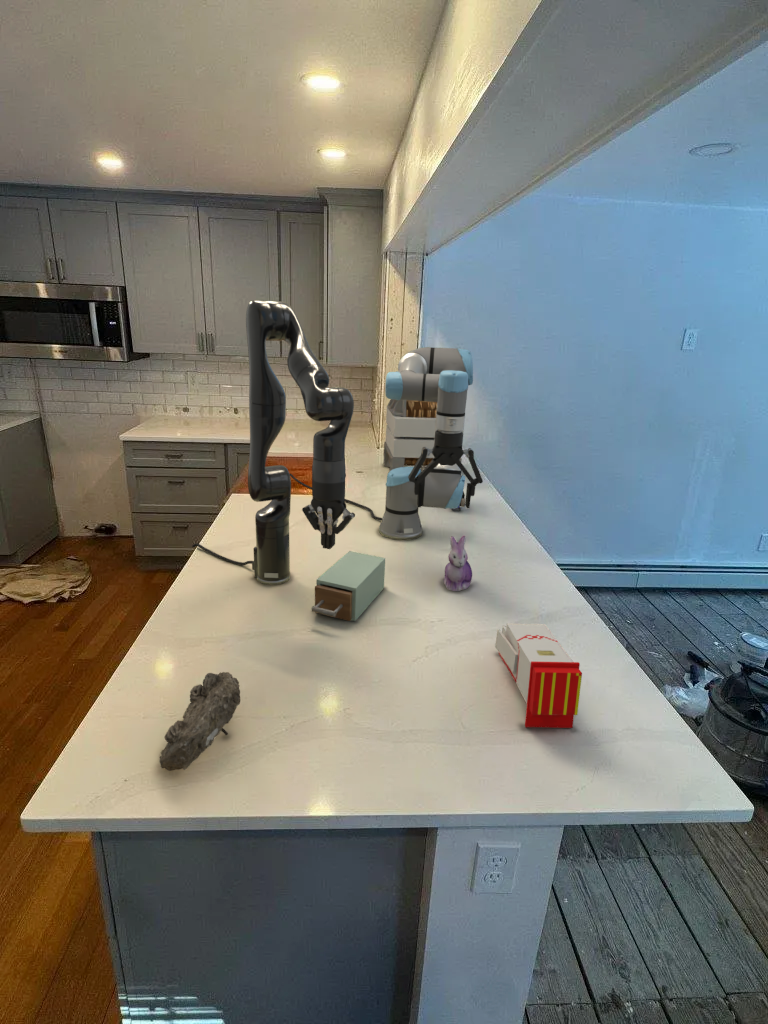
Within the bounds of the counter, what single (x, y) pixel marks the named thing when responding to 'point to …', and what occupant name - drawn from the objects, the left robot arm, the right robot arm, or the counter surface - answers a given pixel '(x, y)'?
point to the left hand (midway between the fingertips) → (328, 547)
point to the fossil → (201, 720)
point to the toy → (541, 674)
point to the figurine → (457, 567)
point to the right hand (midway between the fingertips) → (443, 506)
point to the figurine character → (461, 502)
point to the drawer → (333, 602)
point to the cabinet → (357, 578)
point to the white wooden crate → (409, 432)
